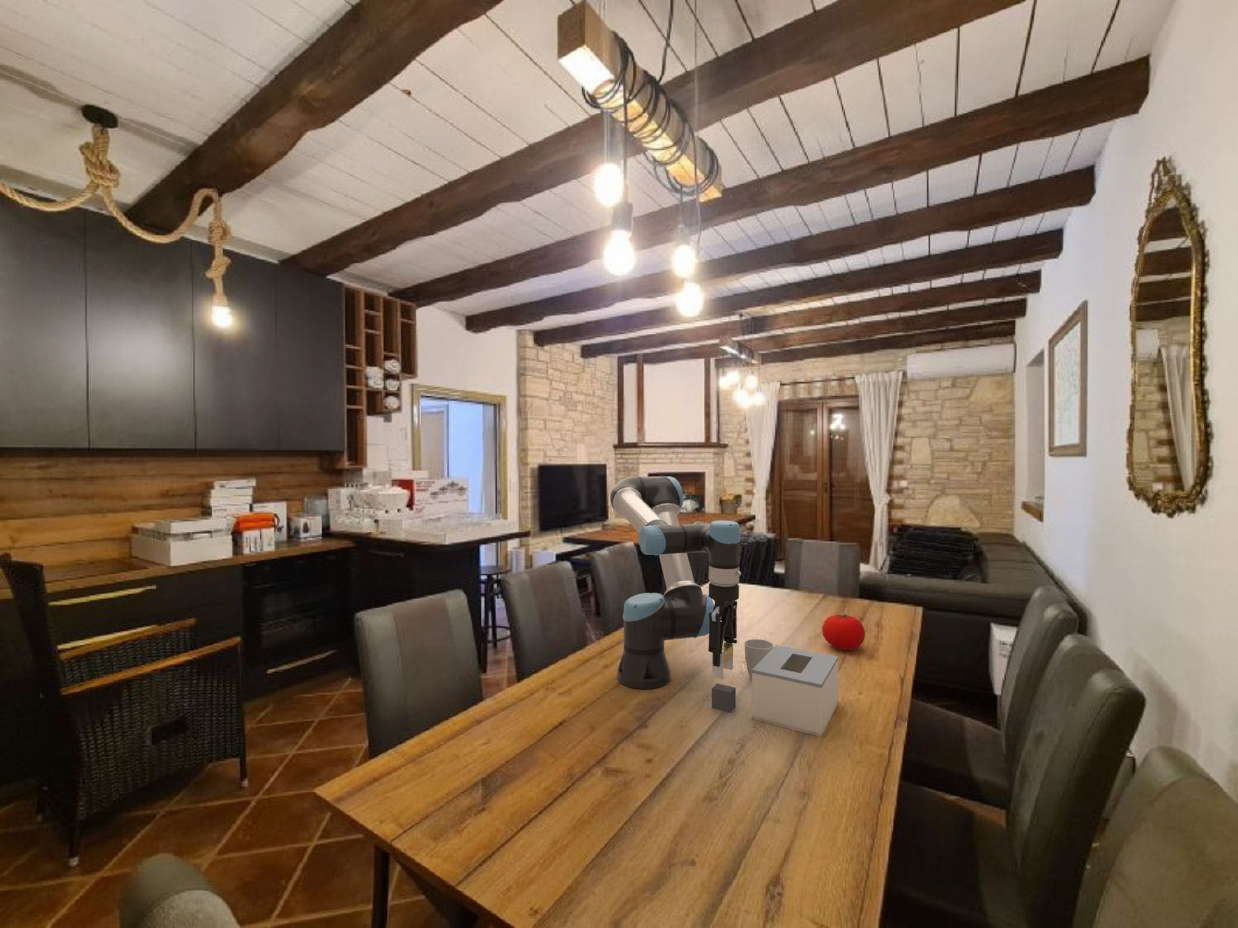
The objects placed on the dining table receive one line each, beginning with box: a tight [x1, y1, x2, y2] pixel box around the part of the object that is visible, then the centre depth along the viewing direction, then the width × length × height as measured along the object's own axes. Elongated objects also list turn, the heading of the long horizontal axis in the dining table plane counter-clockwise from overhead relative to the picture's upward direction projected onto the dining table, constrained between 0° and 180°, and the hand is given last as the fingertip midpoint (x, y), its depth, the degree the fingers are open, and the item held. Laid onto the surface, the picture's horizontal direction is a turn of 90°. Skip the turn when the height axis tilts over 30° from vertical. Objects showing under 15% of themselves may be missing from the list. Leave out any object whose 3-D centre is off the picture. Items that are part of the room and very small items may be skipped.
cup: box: [743, 638, 775, 681], centre depth 154 cm, size 8×8×10 cm
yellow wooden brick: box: [722, 642, 734, 664], centre depth 137 cm, size 3×6×3 cm, turn 148°
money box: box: [751, 644, 839, 738], centre depth 135 cm, size 16×20×12 cm
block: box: [711, 682, 737, 713], centre depth 137 cm, size 5×4×5 cm
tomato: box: [821, 614, 866, 651], centre depth 179 cm, size 12×13×11 cm
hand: (722, 672), depth 137 cm, fingers closed on yellow wooden brick, 6 cm apart
